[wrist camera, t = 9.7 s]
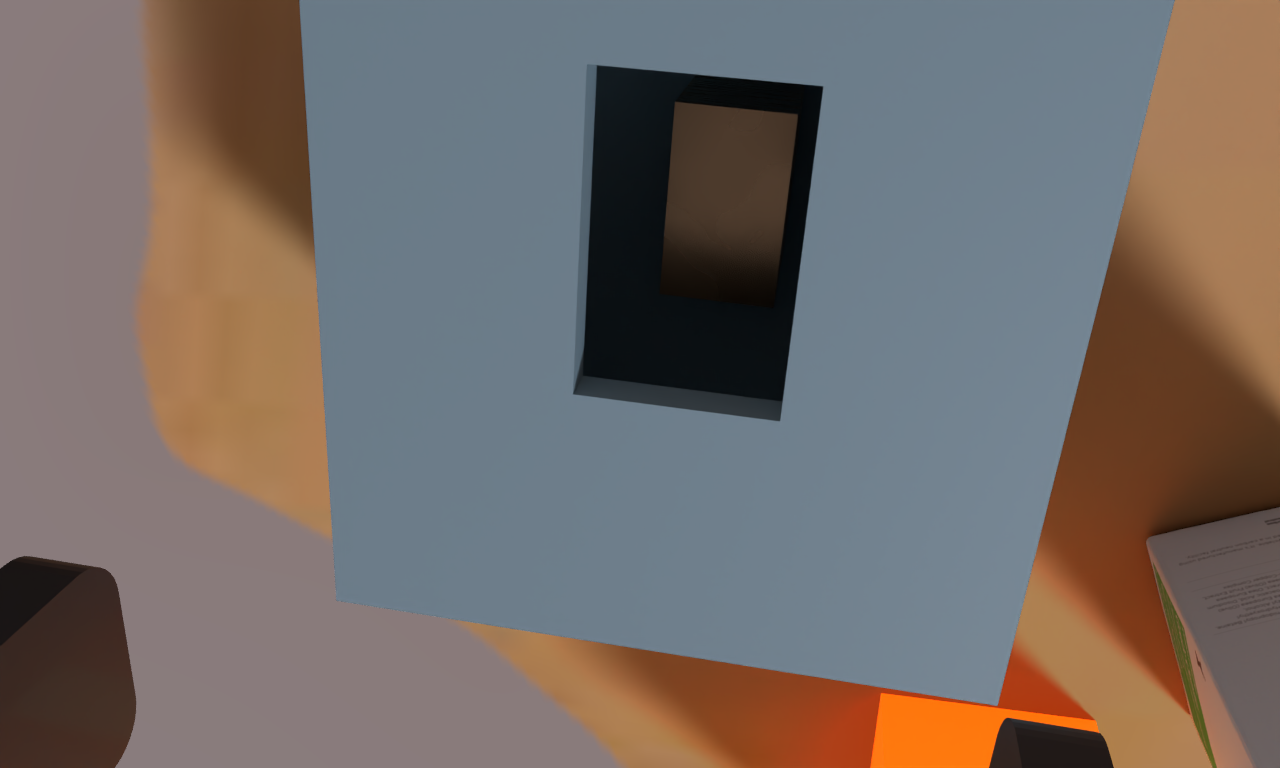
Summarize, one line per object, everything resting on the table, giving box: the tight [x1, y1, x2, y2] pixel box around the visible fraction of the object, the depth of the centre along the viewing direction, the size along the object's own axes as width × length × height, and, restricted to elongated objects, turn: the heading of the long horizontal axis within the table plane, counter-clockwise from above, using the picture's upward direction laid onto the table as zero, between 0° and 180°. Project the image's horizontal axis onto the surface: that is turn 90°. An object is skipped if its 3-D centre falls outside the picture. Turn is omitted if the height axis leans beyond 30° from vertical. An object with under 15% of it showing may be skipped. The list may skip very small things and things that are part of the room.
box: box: [299, 0, 1175, 706], centre depth 28 cm, size 16×20×12 cm
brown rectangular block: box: [659, 74, 805, 308], centre depth 31 cm, size 3×5×5 cm, turn 176°
